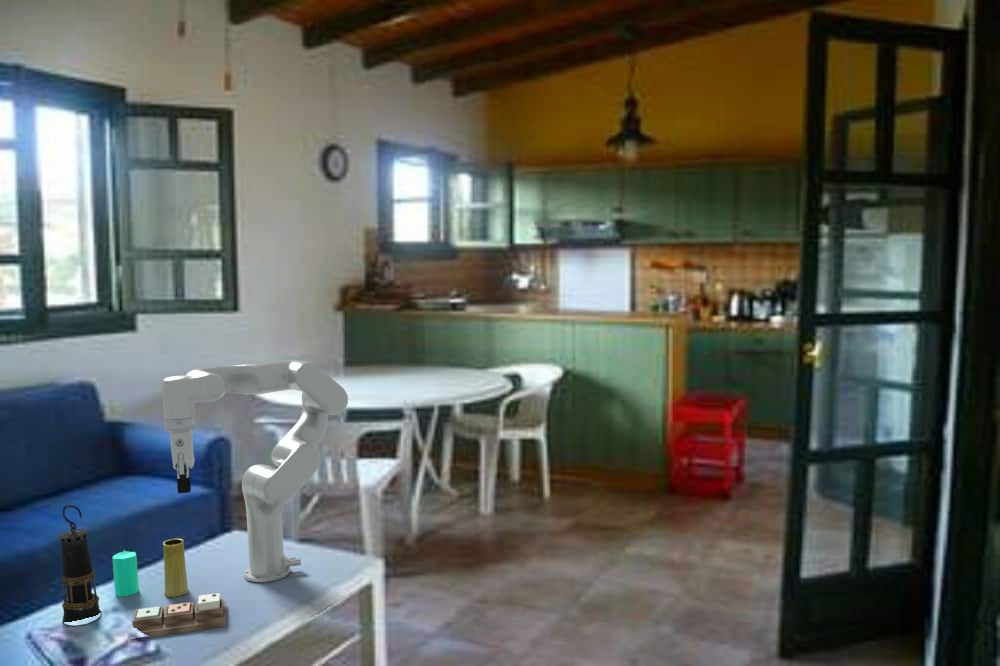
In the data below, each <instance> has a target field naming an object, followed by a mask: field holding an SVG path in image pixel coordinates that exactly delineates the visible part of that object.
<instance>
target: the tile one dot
mask: <svg viewBox="0 0 1000 666" xmlns="http://www.w3.org/2000/svg"><path fill="white" fill-rule="evenodd" d="M160 607H161V606H160V605H159V606H154V607H145V608H138V609H137V610H138V612H137V616H136V620H138V619H145V618H152V617H159V616H160Z"/></svg>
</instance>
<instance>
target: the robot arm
mask: <svg viewBox="0 0 1000 666" xmlns="http://www.w3.org/2000/svg"><path fill="white" fill-rule="evenodd" d="M161 389H162V391H161V392H162V402H163V403H162V404H163V418H164V419H163V420H164V422H163V423H164V430H165V432H166V433H169V436H170V438H169V439H170V450H171V460H172V466H173V468H172V469H174V470H175V471H176V474H177V475H176V476H177V477H176V484H177V486H176V488H177V493H178V494H187V493H189V494H190V493H191V491H192V484H191V476H190V469H193V468H194V465H195V453H194V452H195V451H194V450H195V449H194V448H195V447H194V438H193V436H194V435H193V431H194V430H195V429H196V413H195V403H211V402H212V403H213V402H217V401H218V400H221V398H223V397H224V396H225V394H241V395H249V396H250V395H252V396H253V395H254V396H256V395H262V394H269V393H276V392H285V391H290V390H291V391H292V390H295V391H299V392H302V393H301V403H302V407H301V409H302V410H301V416H300V417H299V420H298V421H297V422H296V423H295V424H294V426H293V427H292V428H291V429H290V430H289V431H288V432H287V433H286V434H285V435H284V436H283V438H282V439H281V440H280V441H278V443H276V445H274V447H273V450H272V451H271V459H272V460H271V461H272V462H273V464H274V465H275V466H277V467H278V468H276V467H274V466H270V465H267V464H263V463H262V464H261V463H260V464H259V463H257V464H254V465H252V466H250V467H249V468H248V469H246V471H245V472H244V473H243V476H242V479H241V490H242V495H243V498H244V502H245V512H246V526H247V527H246V529H247V543H248V544H247V545H248V546H247V547H248V562H249V563H248V566H249V567H248V568H246V569H245V570H244V573H243V575H244V576H243V577H244V578H245V580H247V581H249V582H253V583H268V582H269V583H270V582H274V581H275V582H276V581H279V580H282V579H284V578H286V577H288V575H289V574H290V572H291V567H298V566H302V562H301V558H297V557H296V556H293V557H287V556H286V554H285V551H284V534H283V533H284V531H283V514H282V506H283V505H286V504H287V503H289V502H290V501H291V500H292V499H293V498H294V497H295V496H296V495H297V494H298V493H299V492H300V490H301V489H302V488H303V487H304V486H305V485H306V484H307V483H308V482H309V481H310V480H311V478H312V477H313V476H314V475H315V474H316V472H317V470H318V469H319V467H320V464H321V456H322V455H321V451H320V449H319V448H318V447H317V445H318V444H319V442H320V441H321V440H322V439H323V438H324V436H325V434H326V432H327V429H328V424H329V422H328V421H329V419H328V416H329V415H331V416H336V415H340V414H342V413H343V412H344V411H345V410H346V408H347V406H348V404H349V397H348V396H349V395H348V393H347V391H346V390H345V389H344V387H343V386H341V385H340V384H339V383H338V382H337V381H336V380H334V378H332V377H331V376H330V375H329V374H327V373H326V372H325V371H324V370H323V369H322V368H320V367H319V366H318V365H316V364H315V363H313V362H310V361H305V360H300V359H285V360H284V359H283V360H278V361H269V362H268V361H267V362H260V363H252V364H251V363H250V364H240V365H239V364H238V365H227V366H225V365H224V366H213V367H207V368H206V367H205V368H198V369H194V370H191V371H189V372H188V373H186V374H185V375H173V376H168V377H166V378H164V379H163V380H162V383H161Z"/></svg>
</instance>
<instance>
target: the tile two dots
mask: <svg viewBox="0 0 1000 666" xmlns="http://www.w3.org/2000/svg"><path fill="white" fill-rule="evenodd" d="M220 599H221V595H220V592H217V593H215V592H214V593H207V594H200V595H198V601H197V602H198V610H199V611H205V610H212V609H219V608H220Z"/></svg>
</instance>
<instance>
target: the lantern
mask: <svg viewBox="0 0 1000 666" xmlns="http://www.w3.org/2000/svg"><path fill="white" fill-rule="evenodd" d="M67 508H72V509H75V510H77V513H78V514H79V519H80V520H81V519H82V517H83V516H82V515H83V514H82V512H81V510H80V508H79V507H77V506H76V505H71V504H67V505H64V506H63V509H62V517H63V519H64V520H65V521H66V522H67V523H69V526H70V530H68V531H66V532H62V533H60V534H58V536H57V538H58V539H60V547H61V564H62V565H61V566H62V576H61V584H62V590H63V592H62V593H63V603H62V606H61V607H62V609H63V616H62V623H63V622H72V621H77V620H82V619H85V618H89V617H93V616H96V615H98V614H99V613H102V611H101V609H100V604H99V602H100V601H99V600H100V597H99V596H98V595H97V588H96V582H95V578H96V577H95V576H96V575H95V571H94V569H93V568H94V567H93V564H92V558H91V554H90V549H89V548H90V546H89V541H88V536H87V535H88V534H89V531H90V530H89V529H83V528H80V529H77V528H78V527H77V524H76V523H75V522H73V521H71V520H69V519H68V518H67V517H66V513H65V511H66V509H67ZM92 585H93V587H92ZM92 588H93V592H92ZM66 590H67V591H66ZM66 592H67V596H66ZM66 597H67V598H66Z"/></svg>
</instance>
